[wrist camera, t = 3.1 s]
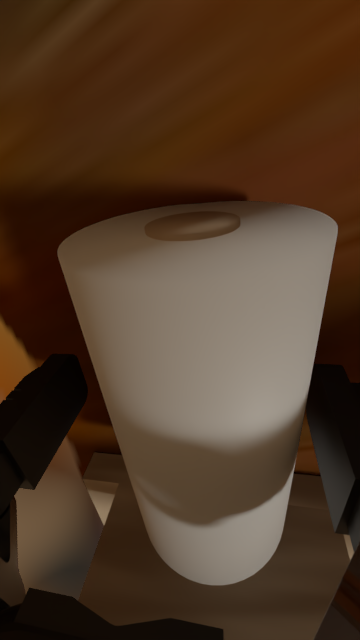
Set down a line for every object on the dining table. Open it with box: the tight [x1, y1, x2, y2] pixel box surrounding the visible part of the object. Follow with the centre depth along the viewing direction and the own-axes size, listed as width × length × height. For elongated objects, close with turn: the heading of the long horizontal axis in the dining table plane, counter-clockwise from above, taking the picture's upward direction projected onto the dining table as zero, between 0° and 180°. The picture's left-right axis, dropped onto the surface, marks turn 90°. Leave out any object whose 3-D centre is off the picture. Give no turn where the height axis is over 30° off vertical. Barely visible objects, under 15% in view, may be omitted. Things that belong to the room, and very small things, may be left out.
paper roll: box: [57, 201, 338, 585], centre depth 9 cm, size 11×6×6 cm, turn 5°
